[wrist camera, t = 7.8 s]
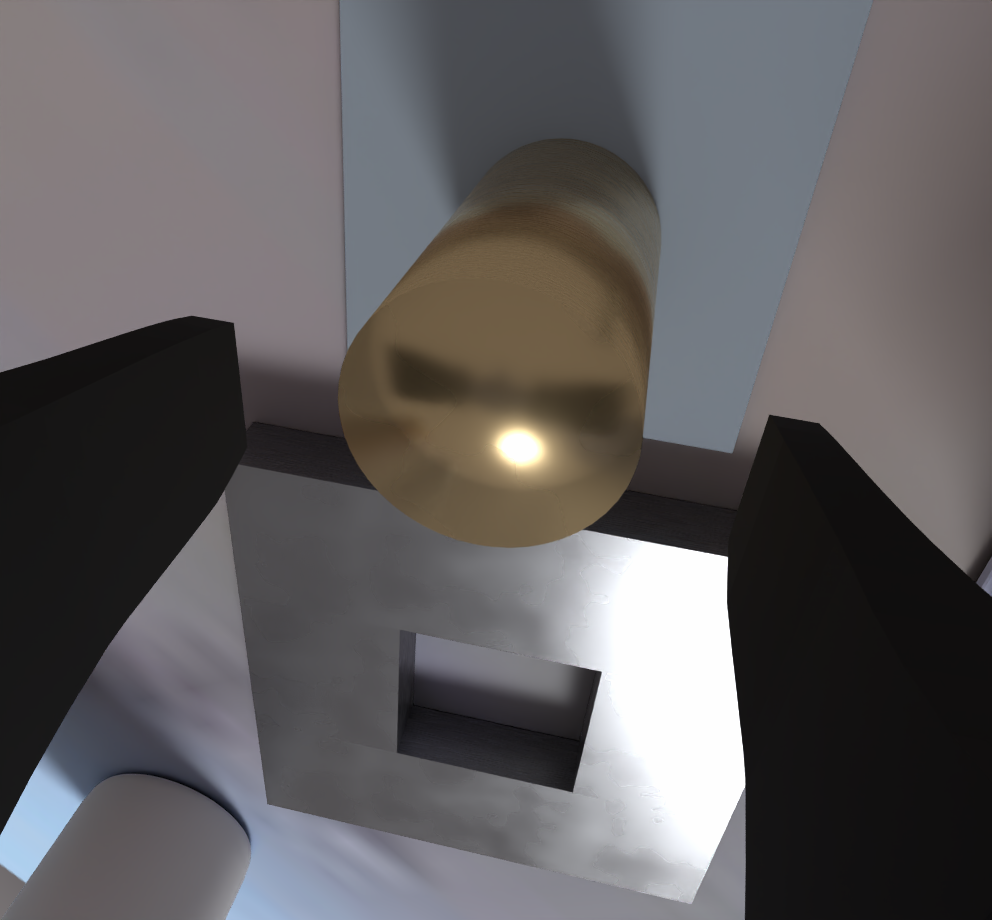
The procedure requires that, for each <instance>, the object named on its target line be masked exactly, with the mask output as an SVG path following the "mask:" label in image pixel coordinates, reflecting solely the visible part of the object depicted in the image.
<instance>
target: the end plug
mask: <svg viewBox="0 0 992 920" xmlns="http://www.w3.org/2000/svg"><path fill="white" fill-rule="evenodd" d="M660 253H661V226H660V218H659V215H658V211H657V207H656V205H655V202H654V200H653V197H652V195H651V193H650V191H649V190H648V188H647V186H646V185H645V183H644V181H643V180H642V179H641V178H640V176H639V175H638V174H637V173H636V171H635V170H634V169H633V168H632V167H630V166H629V165H628V164H627V163H626V162H625V161H624V160H622V159H621V158H620V157H618V156H617V155H615V154H614V153H612V152H610V151H608V150H607V149H605V148H603V147H601V146H598V145H595V144H592V143H589V142H586V141H581V140H576V139H565V138H557V139H546V140H541V141H536V142H532V143H530V144H527V145H524V146H521V147H519V148H518V149H516V150H514V151H512V152H510V153H508V154H507V155H506V156H504V157H503V158H501V159H500V160H499V161H498V162H497V163H496V164H494V165H493V166H492V167H491V168H490V169H489V170H488V172H487V173H486V174H485V175H484V177H483V178H482V179H481V180H480V182H479V183H478V184H477V185H476V187H475V188H474V189H473V190H472V192H471V193H470V194H469V195H468V196H467V198H466V199H465V200H464V201H463V203H462V204H461V205H460V206H459V208H458V209H457V210H456V211H455V213H454V214H453V215H452V216H451V218H450V219H449V220H448V221H447V223H446V224H445V225H444V226H443V228H442V229H441V230H440V231H439V233H438V234H437V235H436V236H435V237H434V239H433V240H432V241H431V242H430V244H429V245H428V246H427V247H426V249H425V250H424V251H423V252H422V254H421V255H420V256H419V257H418V259H417V260H416V261H415V262H414V264H413V265H412V266H411V267H410V269H409V270H408V271H407V272H406V274H405V275H404V276H403V277H402V278H401V280H400V281H399V282H398V283H397V285H396V286H395V287H394V288H393V290H392V291H391V292H390V293H389V295H388V296H387V297H386V298H385V300H384V301H383V302H382V303H381V305H380V306H379V307H378V308H377V310H376V311H375V312H374V313H373V315H372V316H371V317H370V318H369V319H368V321H367V322H366V323H365V325H364V326H363V327H362V328H361V330H360V331H359V332H358V333H357V335H356V336H355V338H354V340H353V342H352V344H351V345H350V347H349V349H348V351H347V354H346V357H345V359H344V362H343V365H342V369H341V374H340V379H339V388H338V405H339V415H340V420H341V425H342V429H343V433H344V436H345V438H346V441H347V444H348V446H349V449H350V451H351V453H352V455H353V457H354V458H355V460H356V462H357V464H358V466H359V467H360V469H361V470H362V472H363V473H364V474H365V476H366V477H367V479H368V480H369V481H370V482H371V484H372V485H373V486H374V487H375V488H376V489H377V490H378V492H379V493H380V494H381V495H382V496H383V497H385V498H386V499H387V500H388V501H389V502H390V503H391V504H392V505H393V506H395V507H396V508H397V509H399V510H400V511H401V512H403V513H404V514H405V515H407V516H408V517H410V518H411V519H413V520H415V521H416V522H418V523H419V524H421V525H423V526H425V527H427V528H429V529H431V530H433V531H435V532H437V533H439V534H442V535H445V536H448V537H450V538H453V539H456V540H459V541H463V542H467V543H471V544H476V545H482V546H489V547H503V548H516V547H530V546H536V545H542V544H547V543H550V542H554V541H557V540H560V539H563V538H566V537H568V536H570V535H573V534H575V533H577V532H579V531H581V530H583V529H584V528H586V527H588V526H589V525H591V524H593V523H594V522H595V521H597V520H598V519H599V518H600V517H602V516H603V515H604V514H606V513H607V512H608V511H609V510H610V508H611V507H612V506H613V505H614V504H615V503H616V502H617V501H618V500H619V498H620V497H621V496H622V494H623V493H624V491H625V490H626V488H627V487H628V485H629V483H630V481H631V479H632V477H633V475H634V473H635V470H636V467H637V464H638V461H639V458H640V453H641V447H642V440H643V431H644V420H645V410H646V399H647V389H648V378H649V368H650V357H651V347H652V336H653V326H654V315H655V305H656V294H657V284H658V273H659V263H660Z"/></svg>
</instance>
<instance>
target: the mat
mask: <svg viewBox="0 0 992 920" xmlns="http://www.w3.org/2000/svg"><path fill="white" fill-rule="evenodd" d="M872 3H873V0H340V41H341V85H342V130H343V174H344V218H345V262H346V306H347V351H348V349H349V347H350V345H351V344H352V342H353V340H354V338H355V336H356V335H357V333H358V332H359V331H360V330H361V328H362V327H363V326H364V325H365V323H366V322H367V321H368V319H369V318H370V317H371V316H372V315H373V313H374V312H375V311H376V310H377V308H378V307H379V306H380V305H381V303H382V302H383V301H384V300H385V298H386V297H387V296H388V295H389V293H390V292H391V291H392V290H393V288H394V287H395V286H396V285H397V283H398V282H399V281H400V280H401V278H402V277H403V276H404V275H405V274H406V272H407V271H408V270H409V269H410V267H411V266H412V265H413V264H414V262H415V261H416V260H417V259H418V257H419V256H420V255H421V254H422V252H423V251H424V250H425V249H426V247H427V246H428V245H429V244H430V242H431V241H432V240H433V239H434V237H435V236H436V235H437V234H438V233H439V231H440V230H441V229H442V228H443V226H444V225H445V224H446V223H447V221H448V220H449V219H450V218H451V216H452V215H453V214H454V213H455V211H456V210H457V209H458V208H459V206H460V205H461V204H462V203H463V201H464V200H465V199H466V198H467V196H468V195H469V194H470V193H471V192H472V190H473V189H474V188H475V187H476V185H477V184H478V183H479V182H480V180H481V179H482V178H483V177H484V175H485V174H486V173H487V172H488V170H489V169H490V168H491V167H492V166H493V165H494V164H496V163H497V162H498V161H499V160H500V159H501V158H503V157H504V156H506V155H507V154H508V153H510V152H512V151H514V150H516V149H518V148H519V147H521V146H524V145H527V144H530V143H532V142H536V141H541V140H546V139H557V138H565V139H576V140H581V141H586V142H589V143H592V144H595V145H598V146H601V147H603V148H605V149H607V150H608V151H610V152H612V153H614V154H615V155H617V156H618V157H620V158H621V159H622V160H624V161H625V162H626V163H627V164H628V165H629V166H630V167H632V168H633V169H634V170H635V171H636V173H637V174H638V175H639V176H640V178H641V179H642V180H643V181H644V183H645V185H646V186H647V188H648V190H649V191H650V193H651V195H652V197H653V200H654V202H655V205H656V207H657V211H658V215H659V218H660V226H661V253H660V263H659V273H658V284H657V294H656V305H655V315H654V326H653V336H652V347H651V357H650V368H649V378H648V389H647V399H646V410H645V420H644V431H643V438H648V439H653V440H659V441H665V442H670V443H676V444H682V445H687V446H693V447H699V448H705V449H710V450H716V451H722V452H727V453H733V450H734V447H735V443H736V440H737V437H738V434H739V431H740V427H741V424H742V421H743V418H744V414H745V411H746V408H747V405H748V402H749V398H750V395H751V392H752V389H753V385H754V382H755V379H756V376H757V373H758V369H759V366H760V363H761V360H762V357H763V353H764V350H765V347H766V344H767V340H768V337H769V334H770V331H771V328H772V324H773V321H774V318H775V315H776V311H777V308H778V305H779V302H780V299H781V295H782V292H783V289H784V286H785V283H786V279H787V276H788V273H789V270H790V266H791V263H792V260H793V257H794V254H795V250H796V247H797V244H798V241H799V237H800V234H801V231H802V228H803V225H804V221H805V218H806V215H807V212H808V209H809V205H810V202H811V199H812V196H813V192H814V189H815V186H816V183H817V180H818V176H819V173H820V170H821V167H822V164H823V160H824V157H825V154H826V151H827V147H828V144H829V141H830V138H831V135H832V131H833V128H834V125H835V122H836V118H837V115H838V112H839V109H840V106H841V102H842V99H843V96H844V93H845V90H846V86H847V83H848V80H849V77H850V73H851V70H852V67H853V64H854V61H855V57H856V54H857V51H858V48H859V44H860V41H861V38H862V35H863V32H864V28H865V25H866V22H867V19H868V16H869V12H870V9H871V6H872Z"/></svg>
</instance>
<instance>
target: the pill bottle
mask: <svg viewBox="0 0 992 920" xmlns="http://www.w3.org/2000/svg"><path fill="white" fill-rule="evenodd" d="M250 859H251V846H250V842H249V839H248V837H247V835H246V833H245V831H244V830H243V828H242V827H241V826H240V824H239V823H238V822H237V821H236V820H235V819H234V818H233V817H232V816H231V815H230V814H229V813H228V812H227V811H226V810H225V809H223V808H222V807H221V806H219V805H218V804H217V803H215V802H214V801H212V800H211V799H209V798H207V797H206V796H204V795H202V794H201V793H199V792H197V791H195V790H193V789H191V788H189V787H186V786H184V785H181V784H179V783H176V782H173V781H170V780H167V779H164V778H160V777H156V776H150V775H144V774H121V775H116V776H112V777H109V778H107V779H105V780H104V781H102V782H101V783H99V784H98V785H97V786H96V787H95V788H94V789H93V790H92V791H91V792H90V793H89V794H88V796H87V797H86V798H85V799H84V800H83V801H82V803H81V804H80V806H79V807H78V809H77V810H76V812H75V813H74V814H73V816H72V817H71V819H70V820H69V822H68V823H67V825H66V826H65V827H64V829H63V830H62V832H61V833H60V835H59V836H58V838H57V839H56V841H55V842H54V843H53V845H52V846H51V848H50V849H49V851H48V852H47V854H46V855H45V856H44V858H43V859H42V861H41V862H40V864H39V865H38V867H37V868H36V870H35V871H34V872H33V874H32V875H31V877H30V878H29V880H28V881H27V883H26V884H25V886H24V887H23V889H22V890H21V891H20V893H19V894H18V896H17V897H16V899H15V900H14V901H13V903H12V904H11V906H10V907H9V909H8V910H7V912H6V913H5V915H4V916H3V917H2V919H1V920H225V919H226V917H227V915H228V913H229V910H230V908H231V906H232V904H233V902H234V900H235V898H236V895H237V893H238V891H239V889H240V887H241V885H242V883H243V880H244V878H245V874H246V872H247V869H248V867H249V864H250Z"/></svg>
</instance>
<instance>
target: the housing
mask: <svg viewBox="0 0 992 920" xmlns="http://www.w3.org/2000/svg"><path fill="white" fill-rule="evenodd" d="M246 439H247V449H246V451H245V453H244V455H243V457H242V459H241V460H240V462H239V464H238V466H237V468H236V470H235V472H234V474H233V476H232V478H231V479H230V481H229V483H228V485H227V486H226V488H225V495H226V503H227V510H228V517H229V525H230V532H231V540H232V547H233V554H234V562H235V569H236V576H237V584H238V591H239V598H240V606H241V613H242V620H243V628H244V635H245V642H246V650H247V657H248V665H249V672H250V679H251V687H252V694H253V701H254V709H255V716H256V723H257V731H258V738H259V745H260V753H261V760H262V768H263V775H264V782H265V790H266V797H267V804H269V805H274V806H278V807H282V808H286V809H291V810H295V811H299V812H303V813H308V814H312V815H316V816H320V817H324V818H329V819H333V820H337V821H341V822H346V823H350V824H354V825H358V826H363V827H367V828H371V829H375V830H380V831H384V832H388V833H392V834H397V835H401V836H405V837H409V838H413V839H418V840H422V841H426V842H430V843H435V844H439V845H443V846H447V847H452V848H456V849H460V850H464V851H469V852H473V853H477V854H481V855H486V856H490V857H494V858H498V859H502V860H507V861H511V862H515V863H519V864H524V865H528V866H532V867H536V868H541V869H545V870H549V871H553V872H558V873H562V874H566V875H570V876H574V877H579V878H583V879H587V880H591V881H596V882H600V883H604V884H608V885H613V886H617V887H621V888H625V889H630V890H634V891H638V892H642V893H647V894H651V895H655V896H659V897H663V898H668V899H672V900H676V901H680V902H685V903H689V904H692V901H693V899H694V897H695V895H696V893H697V890H698V888H699V886H700V884H701V882H702V879H703V877H704V875H705V873H706V870H707V868H708V866H709V864H710V862H711V859H712V857H713V855H714V853H715V851H716V848H717V846H718V844H719V842H720V840H721V837H722V835H723V833H724V831H725V829H726V826H727V824H728V822H729V820H730V817H731V815H732V813H733V811H734V809H735V806H736V804H737V802H738V800H739V798H740V795H741V793H742V791H743V789H744V787H745V773H744V758H743V747H742V739H741V730H740V721H739V712H738V704H737V695H736V686H735V677H734V669H733V660H732V651H731V642H730V632H729V623H728V613H727V564H728V540H729V535H730V532H731V529H732V526H733V523H734V520H735V517H736V514H737V511H736V510H730V509H725V508H719V507H714V506H708V505H703V504H697V503H692V502H687V501H681V500H676V499H670V498H665V497H659V496H654V495H648V494H643V493H637V492H632V491H627V490H625V491H624V493H623V494H622V496H621V497H620V498H619V500H618V501H617V502H616V503H615V504H614V505H613V506H612V507H611V508H610V510H609V511H608V512H607V513H606V514H604V515H603V516H602V517H600V518H599V519H598V520H597V521H595V522H594V523H593V524H591V525H589V526H588V527H586V528H584V529H583V530H581V531H579V532H577V533H575V534H573V535H570V536H568V537H566V538H563V539H560V540H557V541H554V542H550V543H547V544H542V545H536V546H530V547H516V548H503V547H489V546H482V545H476V544H471V543H467V542H463V541H459V540H456V539H453V538H450V537H448V536H445V535H442V534H439V533H437V532H435V531H433V530H431V529H429V528H427V527H425V526H423V525H421V524H419V523H418V522H416V521H415V520H413V519H411V518H410V517H408V516H407V515H405V514H404V513H403V512H401V511H400V510H399V509H397V508H396V507H395V506H393V505H392V504H391V503H390V502H389V501H388V500H387V499H386V498H385V497H383V496H382V495H381V494H380V493H379V492H378V490H377V489H376V488H375V487H374V486H373V485H372V484H371V482H370V481H369V480H368V479H367V477H366V476H365V474H364V473H363V472H362V470H361V469H360V467H359V466H358V464H357V462H356V460H355V458H354V457H353V455H352V453H351V451H350V449H349V446H348V444H347V441H346V439H343V438H337V437H332V436H326V435H321V434H316V433H310V432H305V431H299V430H294V429H288V428H283V427H277V426H272V425H266V424H261V423H256V422H253V423H252V425H251V426H250V427H249V428H248V429H247V430H246ZM416 633H418V634H423V635H428V636H433V637H438V638H443V639H447V640H452V641H457V642H462V643H467V644H471V645H476V646H481V647H486V648H491V649H495V650H500V651H505V652H510V653H515V654H519V655H524V656H529V657H534V658H539V659H544V660H548V661H553V662H558V663H563V664H568V665H572V666H577V667H582V668H587V669H592V670H596V673H595V677H594V682H593V686H592V690H591V694H590V698H589V703H588V707H587V711H586V715H585V720H584V724H583V728H582V732H581V736H580V741H574V740H569V739H565V738H560V737H556V736H551V735H546V734H542V733H537V732H533V731H528V730H523V729H519V728H514V727H510V726H505V725H501V724H496V723H491V722H487V721H482V720H478V719H473V718H468V717H464V716H459V715H455V714H450V713H445V712H441V711H436V710H432V709H427V708H423V707H418V706H413V692H414V668H415V644H416Z"/></svg>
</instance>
